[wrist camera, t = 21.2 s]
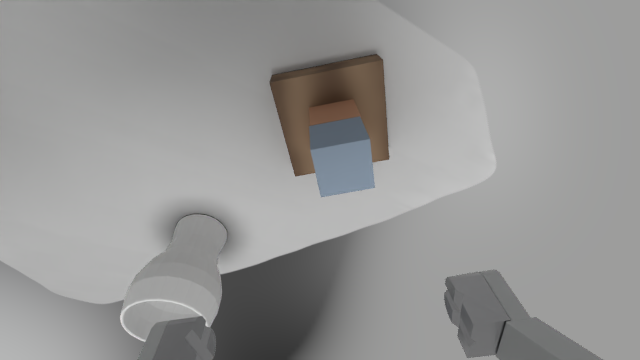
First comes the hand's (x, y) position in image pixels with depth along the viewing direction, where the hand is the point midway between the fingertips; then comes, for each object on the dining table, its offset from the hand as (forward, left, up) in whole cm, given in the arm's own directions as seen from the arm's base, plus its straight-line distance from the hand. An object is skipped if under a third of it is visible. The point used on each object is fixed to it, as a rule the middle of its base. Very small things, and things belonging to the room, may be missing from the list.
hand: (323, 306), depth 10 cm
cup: (-21, -20, -29) cm, 41 cm away
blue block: (+2, -5, -21) cm, 22 cm away
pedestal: (+2, -5, -29) cm, 30 cm away
